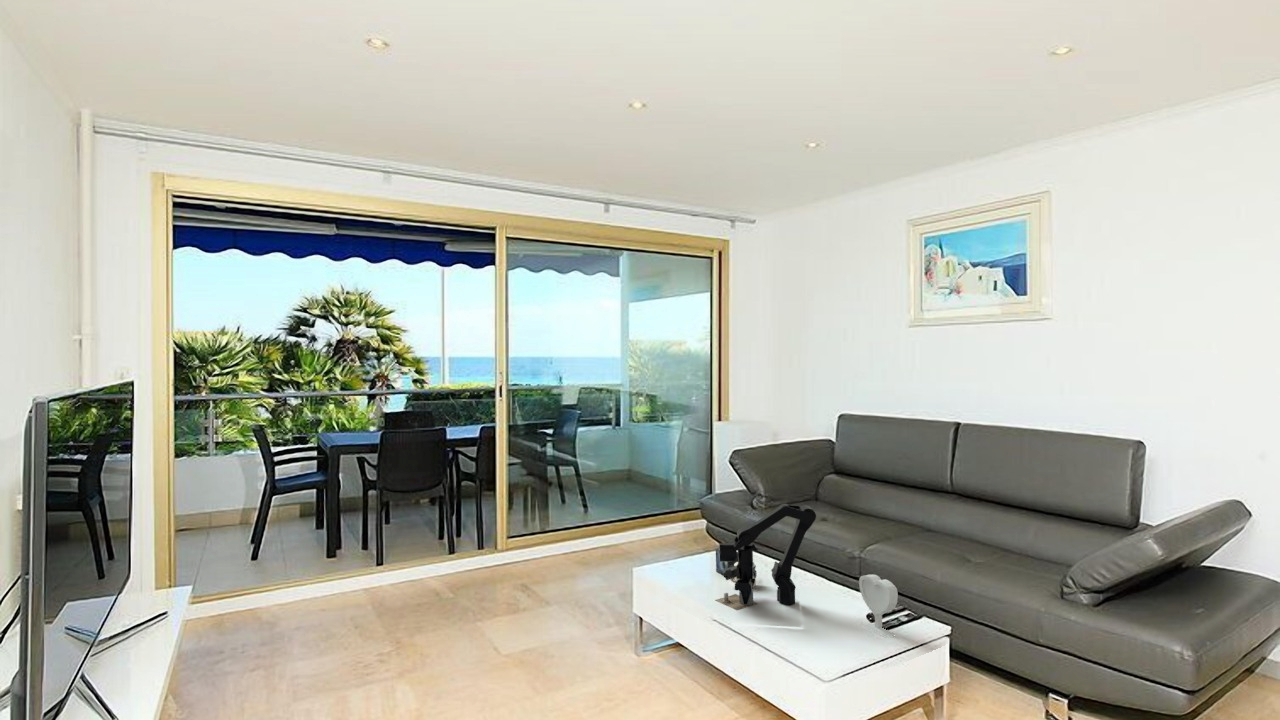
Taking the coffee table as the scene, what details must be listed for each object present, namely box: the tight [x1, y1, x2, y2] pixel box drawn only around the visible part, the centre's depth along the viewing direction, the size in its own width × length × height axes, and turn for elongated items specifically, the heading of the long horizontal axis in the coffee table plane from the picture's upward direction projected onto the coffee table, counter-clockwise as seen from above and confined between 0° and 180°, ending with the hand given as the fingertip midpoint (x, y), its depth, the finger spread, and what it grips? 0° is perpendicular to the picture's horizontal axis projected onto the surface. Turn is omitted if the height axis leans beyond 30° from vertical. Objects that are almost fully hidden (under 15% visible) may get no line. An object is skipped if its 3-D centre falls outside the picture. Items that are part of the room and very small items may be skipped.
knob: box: [738, 589, 754, 605], centre depth 264 cm, size 5×5×5 cm
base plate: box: [714, 592, 759, 611], centre depth 265 cm, size 13×11×4 cm
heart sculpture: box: [858, 574, 899, 638], centre depth 238 cm, size 16×5×18 cm, turn 21°
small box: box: [715, 547, 738, 577], centre depth 300 cm, size 11×6×10 cm, turn 25°
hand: (746, 601), depth 264 cm, fingers closed on knob, 5 cm apart
